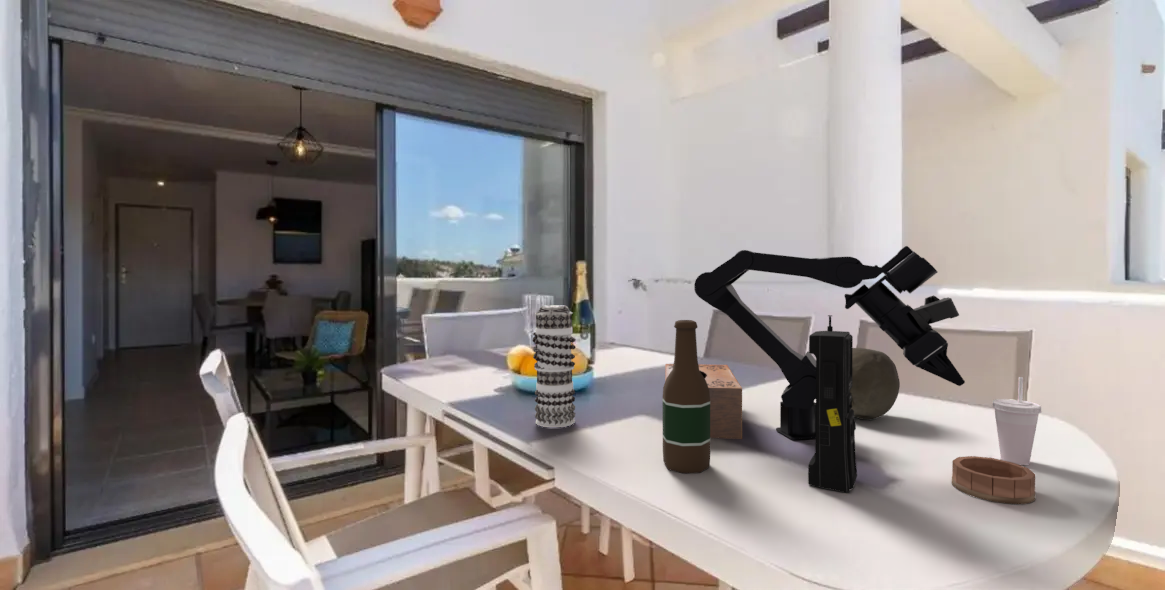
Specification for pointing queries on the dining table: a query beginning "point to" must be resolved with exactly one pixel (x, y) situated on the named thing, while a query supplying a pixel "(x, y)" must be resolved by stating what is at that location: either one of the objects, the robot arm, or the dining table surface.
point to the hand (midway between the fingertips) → (957, 379)
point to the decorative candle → (554, 367)
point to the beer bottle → (686, 407)
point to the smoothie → (1016, 427)
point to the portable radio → (833, 412)
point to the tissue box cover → (721, 400)
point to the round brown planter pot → (993, 480)
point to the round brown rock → (873, 383)
